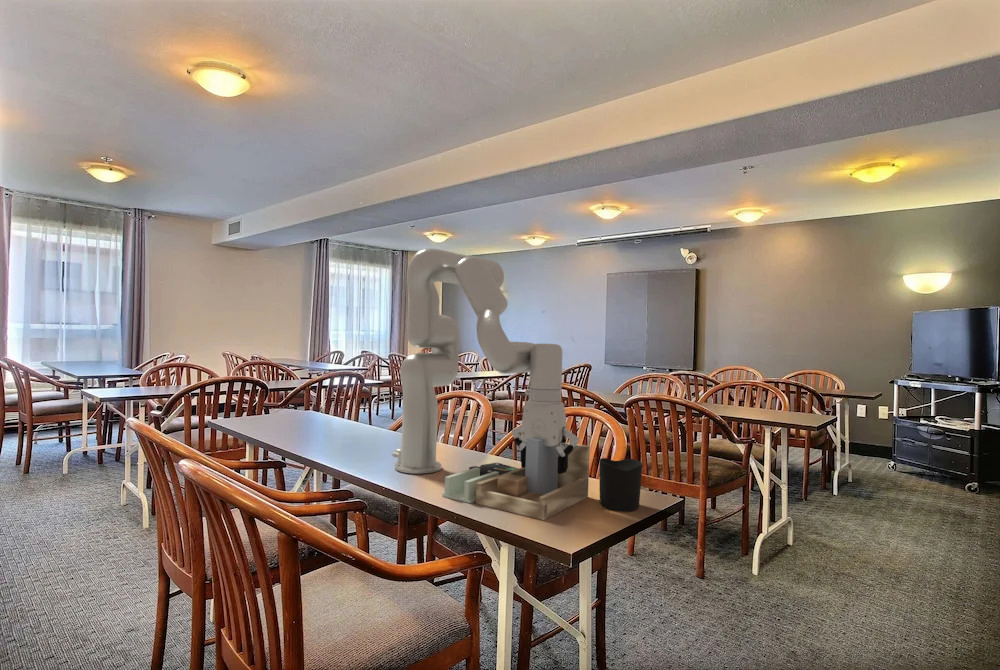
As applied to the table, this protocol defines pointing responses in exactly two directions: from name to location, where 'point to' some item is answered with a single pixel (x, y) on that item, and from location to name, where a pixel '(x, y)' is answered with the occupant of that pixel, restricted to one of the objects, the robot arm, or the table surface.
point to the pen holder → (620, 484)
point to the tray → (566, 495)
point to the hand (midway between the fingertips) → (543, 469)
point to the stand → (465, 484)
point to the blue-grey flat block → (541, 467)
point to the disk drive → (494, 468)
